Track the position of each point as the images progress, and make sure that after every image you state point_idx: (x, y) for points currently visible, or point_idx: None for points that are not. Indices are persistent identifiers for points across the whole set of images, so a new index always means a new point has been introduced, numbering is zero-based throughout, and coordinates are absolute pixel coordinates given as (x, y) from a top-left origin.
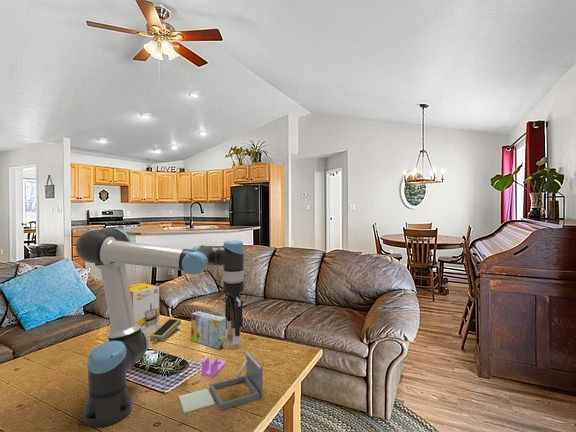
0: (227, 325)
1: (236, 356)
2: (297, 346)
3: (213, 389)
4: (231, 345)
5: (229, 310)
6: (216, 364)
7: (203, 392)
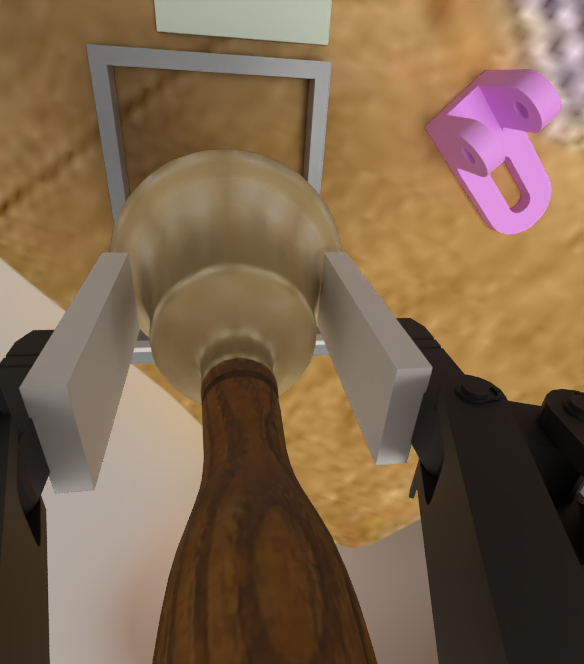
0: (383, 328)
1: (520, 299)
2: (417, 509)
3: (266, 62)
4: (142, 234)
5: (489, 656)
6: (469, 163)
7: (299, 3)
